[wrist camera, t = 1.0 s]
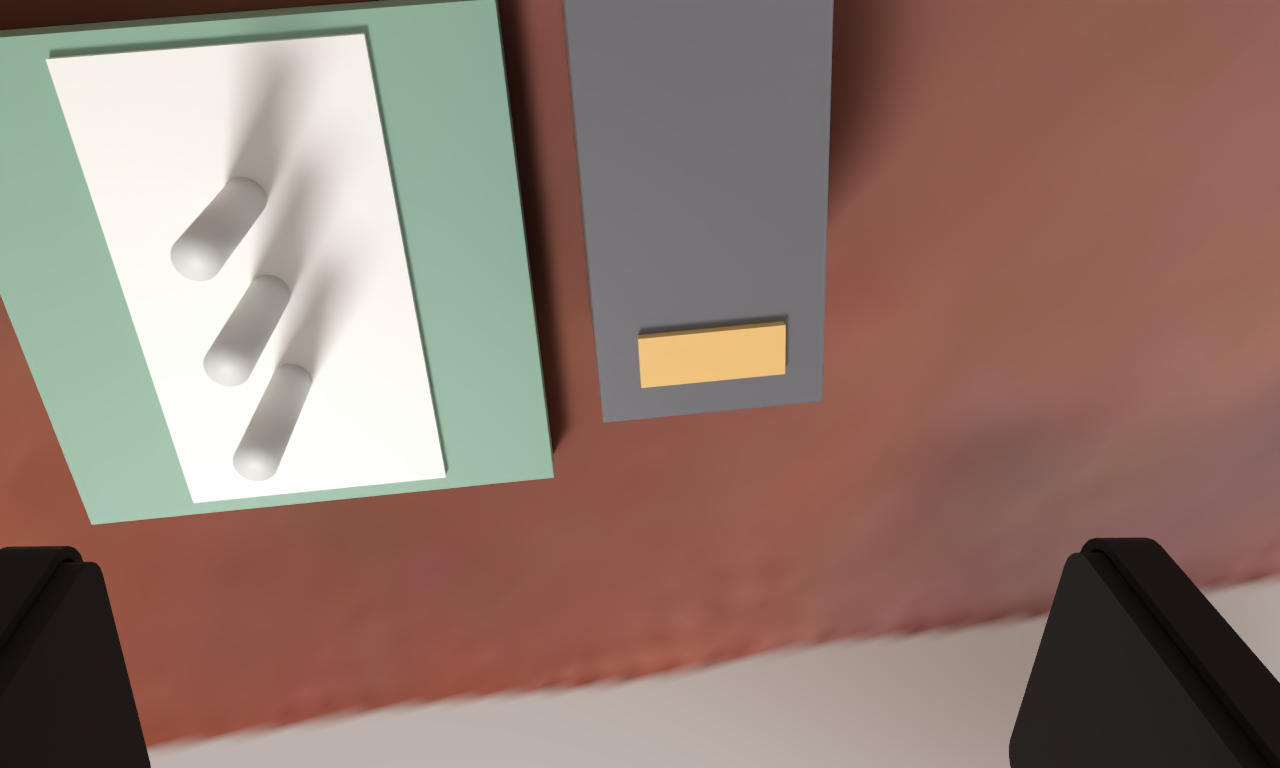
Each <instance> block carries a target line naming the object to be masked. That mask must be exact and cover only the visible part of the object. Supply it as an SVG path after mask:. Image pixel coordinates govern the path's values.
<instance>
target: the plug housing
mask: <svg viewBox="0 0 1280 768" xmlns="http://www.w3.org/2000/svg"><path fill="white" fill-rule="evenodd" d="M833 1H834V0H562V11H563V22H564V33H565V43H566V54H567V65H568V75H569V86H570V97H571V108H572V118H573V129H574V140H575V150H576V161H577V172H578V183H579V193H580V204H581V215H582V225H583V236H584V247H585V258H586V268H587V279H588V290H589V300H590V311H591V320H592V329H593V337H594V346H595V354H596V363H597V372H598V380H599V389H600V397H601V406H602V415H603V423H605V422H615V421H625V420H635V419H646V418H656V417H666V416H676V415H686V414H696V413H706V412H716V411H726V410H736V409H746V408H756V407H766V406H776V405H786V404H796V403H806V402H816V401H822V386H823V351H824V316H825V281H826V246H827V211H828V176H829V141H830V106H831V71H832V36H833Z"/></svg>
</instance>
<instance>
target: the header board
mask: <svg viewBox="0 0 1280 768" xmlns="http://www.w3.org/2000/svg"><path fill="white" fill-rule="evenodd" d="M0 295H1V297H2V300H3V302H4V305H5V307H6V310H7V312H8V315H9V317H10V320H11V322H12V325H13V327H14V330H15V332H16V335H17V337H18V340H19V342H20V345H21V348H22V350H23V353H24V355H25V358H26V360H27V363H28V365H29V368H30V370H31V373H32V375H33V378H34V380H35V383H36V385H37V388H38V390H39V393H40V395H41V398H42V400H43V403H44V405H45V408H46V411H47V413H48V416H49V418H50V421H51V423H52V426H53V428H54V431H55V433H56V436H57V438H58V441H59V443H60V446H61V448H62V451H63V453H64V456H65V458H66V461H67V463H68V466H69V468H70V471H71V473H72V476H73V479H74V481H75V484H76V486H77V489H78V491H79V494H80V496H81V499H82V501H83V504H84V506H85V509H86V511H87V514H88V516H89V519H90V521H91V524H92V525H94V524H103V523H113V522H123V521H133V520H142V519H152V518H162V517H172V516H182V515H191V514H201V513H211V512H221V511H231V510H240V509H250V508H260V507H270V506H280V505H289V504H299V503H309V502H319V501H329V500H338V499H348V498H358V497H368V496H377V495H387V494H397V493H407V492H417V491H426V490H436V489H446V488H456V487H466V486H475V485H485V484H495V483H505V482H515V481H524V480H534V479H544V478H554V463H553V449H552V441H551V432H550V424H549V416H548V408H547V399H546V391H545V383H544V375H543V367H542V358H541V350H540V342H539V334H538V326H537V317H536V309H535V301H534V293H533V285H532V276H531V268H530V260H529V252H528V243H527V235H526V227H525V219H524V211H523V202H522V194H521V186H520V178H519V170H518V161H517V153H516V145H515V137H514V129H513V120H512V112H511V104H510V96H509V87H508V79H507V71H506V63H505V55H504V46H503V38H502V30H501V22H500V14H499V5H498V0H384V1H371V2H358V3H345V4H332V5H319V6H307V7H294V8H281V9H268V10H255V11H242V12H229V13H217V14H204V15H191V16H178V17H165V18H152V19H139V20H127V21H114V22H101V23H88V24H75V25H62V26H49V27H37V28H24V29H11V30H0Z"/></svg>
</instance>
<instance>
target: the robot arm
mask: <svg viewBox="0 0 1280 768" xmlns="http://www.w3.org/2000/svg"><path fill="white" fill-rule="evenodd" d="M1009 759H1010V766H1011V768H1280V683H1279V682H1278V681H1277V679H1276V678H1275V677H1274V676H1273V675H1272V674H1271V673H1270V671H1269V670H1268V669H1267V668H1266V667H1265V666H1264V665H1263V663H1262V662H1261V661H1260V660H1259V659H1258V658H1257V656H1256V655H1255V654H1254V653H1253V652H1252V651H1251V649H1250V648H1249V647H1248V646H1247V645H1246V644H1245V642H1243V640H1242V639H1241V638H1240V637H1239V636H1238V634H1237V633H1236V632H1235V631H1234V630H1233V629H1232V627H1231V626H1230V625H1229V624H1228V623H1227V622H1226V620H1225V619H1224V618H1223V617H1222V616H1221V615H1220V614H1219V612H1217V610H1216V609H1215V608H1214V607H1213V606H1212V604H1211V603H1210V602H1209V601H1208V600H1207V599H1206V597H1205V596H1204V595H1203V594H1202V593H1201V592H1200V590H1199V589H1198V588H1197V587H1196V586H1195V585H1194V583H1193V582H1192V581H1191V580H1190V579H1189V578H1188V577H1187V575H1186V574H1185V573H1184V572H1183V571H1182V570H1181V568H1180V567H1179V566H1178V565H1177V564H1176V563H1175V562H1174V560H1173V559H1172V558H1171V557H1170V556H1169V555H1168V553H1167V552H1166V551H1165V550H1164V549H1163V548H1162V546H1160V545H1159V544H1158V543H1157V542H1156V541H1154V540H1152V539H1149V538H1094V539H1091V540H1089V541H1088V542H1087V543H1086V544H1085V545H1084V546H1083V548H1082V550H1081V552H1080V553H1074V554H1071V555H1070V556H1069V557H1068V559H1067V561H1066V563H1065V566H1064V569H1063V572H1062V575H1061V579H1060V582H1059V585H1058V588H1057V591H1056V595H1055V598H1054V601H1053V604H1052V607H1051V611H1050V614H1049V617H1048V620H1047V623H1046V627H1045V630H1044V633H1043V636H1042V639H1041V643H1040V646H1039V649H1038V652H1037V656H1036V659H1035V662H1034V665H1033V668H1032V672H1031V675H1030V678H1029V681H1028V684H1027V688H1026V691H1025V694H1024V697H1023V701H1022V704H1021V707H1020V710H1019V713H1018V716H1017V720H1016V723H1015V726H1014V730H1013V732H1012V736H1011V739H1010V744H1009ZM0 768H151V766H150V760H149V757H148V753H147V749H146V745H145V741H144V737H143V733H142V729H141V725H140V721H139V717H138V713H137V709H136V705H135V701H134V697H133V693H132V689H131V685H130V681H129V677H128V673H127V669H126V665H125V661H124V657H123V653H122V649H121V645H120V641H119V637H118V633H117V629H116V625H115V621H114V617H113V613H112V609H111V605H110V601H109V597H108V593H107V590H106V586H105V582H104V578H103V574H102V571H101V569H100V567H99V566H98V565H97V563H94V562H83V560H82V557H81V554H80V553H79V552H78V551H77V550H76V549H75V548H73V547H70V546H38V547H5V548H3V549H0Z"/></svg>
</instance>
